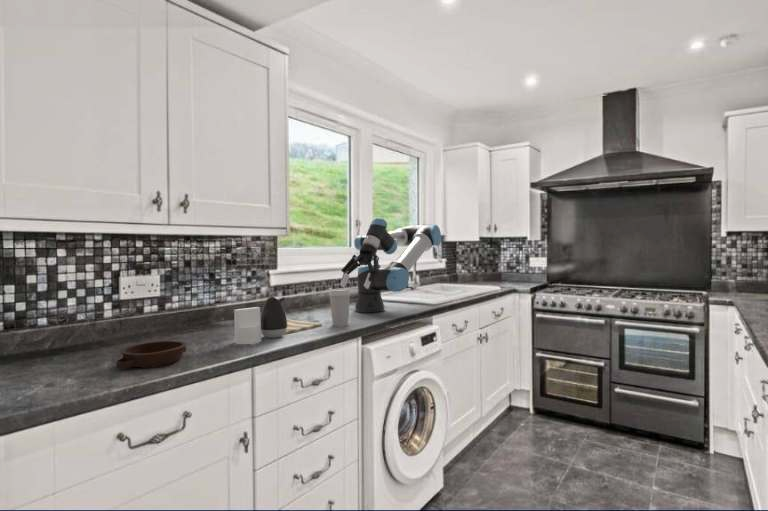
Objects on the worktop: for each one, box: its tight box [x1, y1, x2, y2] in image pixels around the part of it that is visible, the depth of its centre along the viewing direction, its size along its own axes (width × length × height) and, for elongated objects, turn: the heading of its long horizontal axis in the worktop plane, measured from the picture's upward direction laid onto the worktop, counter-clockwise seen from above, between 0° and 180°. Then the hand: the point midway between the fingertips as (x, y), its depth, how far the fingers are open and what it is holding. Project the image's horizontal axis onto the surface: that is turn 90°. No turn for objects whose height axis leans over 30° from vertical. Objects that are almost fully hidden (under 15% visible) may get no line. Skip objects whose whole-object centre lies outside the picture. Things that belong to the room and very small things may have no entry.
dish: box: [115, 340, 188, 369], centre depth 135 cm, size 18×22×5 cm
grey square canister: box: [233, 306, 262, 345], centre depth 162 cm, size 9×9×12 cm
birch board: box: [284, 319, 323, 335], centre depth 189 cm, size 20×20×1 cm
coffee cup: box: [328, 288, 352, 327], centre depth 193 cm, size 10×10×15 cm
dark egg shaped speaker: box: [260, 296, 288, 339], centre depth 170 cm, size 10×10×15 cm
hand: (353, 286), depth 202 cm, fingers open, 13 cm apart
